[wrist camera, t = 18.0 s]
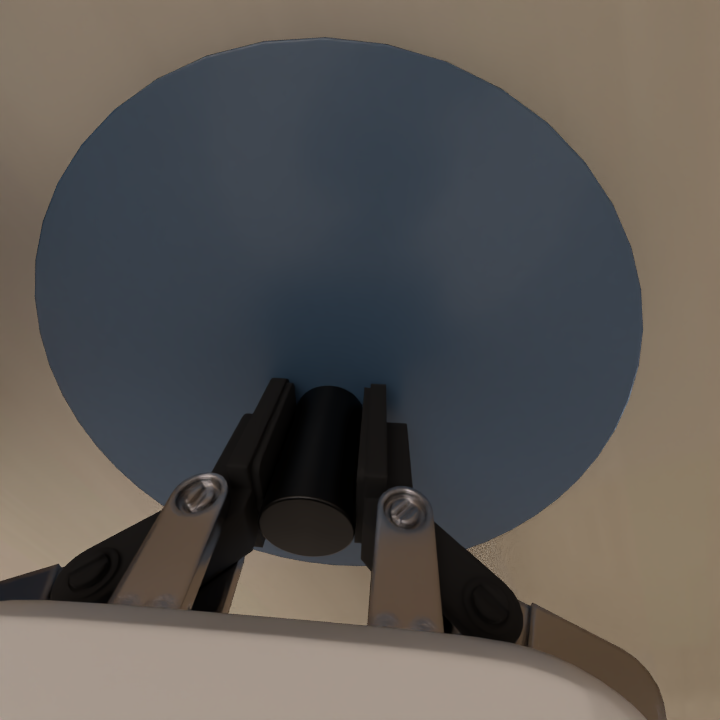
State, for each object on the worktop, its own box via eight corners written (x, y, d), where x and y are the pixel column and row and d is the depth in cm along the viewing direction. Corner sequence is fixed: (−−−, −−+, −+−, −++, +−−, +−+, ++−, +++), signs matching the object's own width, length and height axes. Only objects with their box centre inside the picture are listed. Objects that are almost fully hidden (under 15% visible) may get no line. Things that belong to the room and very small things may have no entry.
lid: (-72, 40, 8) (-706, -129, 3) (771, 62, 8) (1450, -115, 3) (154, 530, 18) (73, 660, 14) (524, 559, 18) (577, 706, 13)
